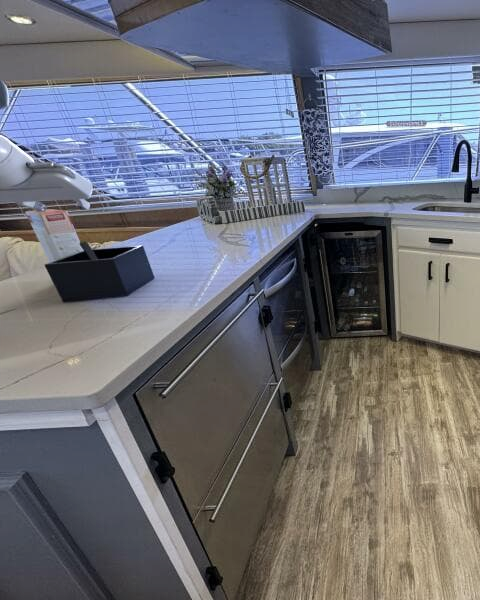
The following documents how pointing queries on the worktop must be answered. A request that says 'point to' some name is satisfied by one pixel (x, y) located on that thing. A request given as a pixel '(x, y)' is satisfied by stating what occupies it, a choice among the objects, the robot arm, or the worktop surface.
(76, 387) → the worktop surface
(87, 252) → the red white rounded piece
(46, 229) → the cracker box
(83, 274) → the black open box
